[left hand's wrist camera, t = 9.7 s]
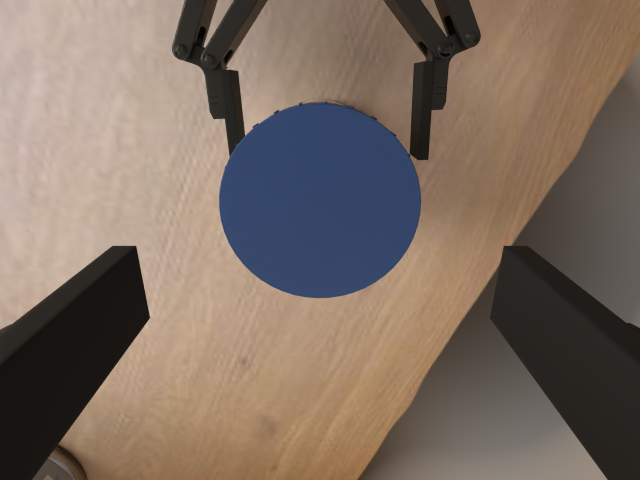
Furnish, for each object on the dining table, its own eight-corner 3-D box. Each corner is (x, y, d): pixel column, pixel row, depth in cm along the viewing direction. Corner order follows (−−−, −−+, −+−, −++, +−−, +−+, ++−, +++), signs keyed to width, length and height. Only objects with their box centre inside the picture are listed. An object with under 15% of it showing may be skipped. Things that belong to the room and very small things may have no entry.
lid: (266, 65, 20) (260, 62, 18) (448, 152, 21) (461, 159, 19) (202, 242, 23) (191, 257, 21) (362, 305, 25) (365, 324, 23)
